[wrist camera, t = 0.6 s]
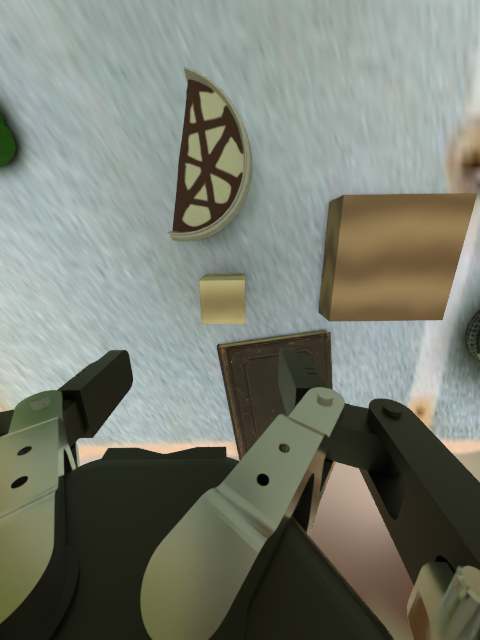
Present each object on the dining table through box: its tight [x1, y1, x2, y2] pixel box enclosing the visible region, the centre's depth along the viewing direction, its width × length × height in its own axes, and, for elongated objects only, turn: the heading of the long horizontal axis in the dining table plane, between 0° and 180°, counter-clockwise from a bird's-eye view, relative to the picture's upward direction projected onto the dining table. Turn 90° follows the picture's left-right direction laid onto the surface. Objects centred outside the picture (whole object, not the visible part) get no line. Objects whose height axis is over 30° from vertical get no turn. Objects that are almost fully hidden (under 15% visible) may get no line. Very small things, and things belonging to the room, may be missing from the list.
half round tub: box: [168, 67, 252, 241], centre depth 23 cm, size 12×6×10 cm, turn 168°
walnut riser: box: [319, 193, 477, 321], centre depth 28 cm, size 14×14×4 cm
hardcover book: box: [217, 331, 332, 461], centre depth 36 cm, size 16×23×2 cm
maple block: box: [199, 274, 245, 324], centre depth 28 cm, size 5×5×6 cm
